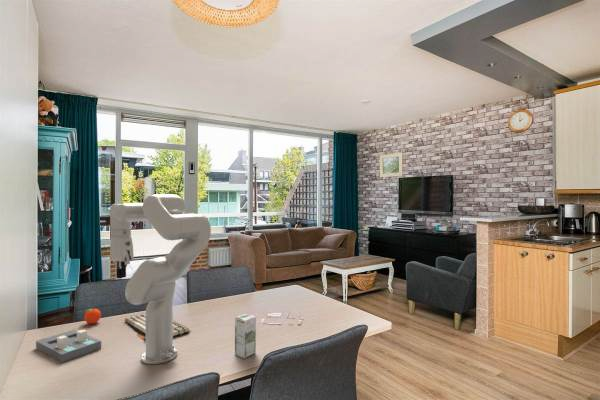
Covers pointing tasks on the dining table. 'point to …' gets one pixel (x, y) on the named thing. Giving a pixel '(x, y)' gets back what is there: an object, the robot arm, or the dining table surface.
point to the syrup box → (245, 335)
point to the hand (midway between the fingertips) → (121, 277)
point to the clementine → (92, 316)
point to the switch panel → (70, 352)
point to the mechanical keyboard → (140, 327)
